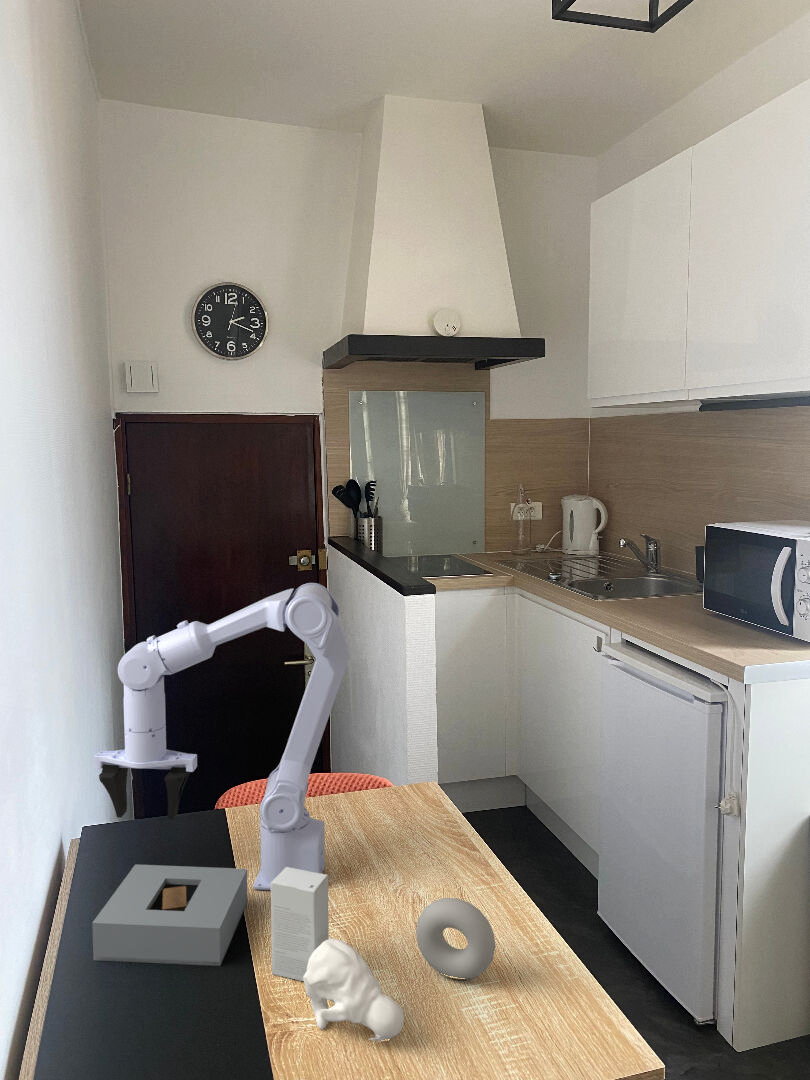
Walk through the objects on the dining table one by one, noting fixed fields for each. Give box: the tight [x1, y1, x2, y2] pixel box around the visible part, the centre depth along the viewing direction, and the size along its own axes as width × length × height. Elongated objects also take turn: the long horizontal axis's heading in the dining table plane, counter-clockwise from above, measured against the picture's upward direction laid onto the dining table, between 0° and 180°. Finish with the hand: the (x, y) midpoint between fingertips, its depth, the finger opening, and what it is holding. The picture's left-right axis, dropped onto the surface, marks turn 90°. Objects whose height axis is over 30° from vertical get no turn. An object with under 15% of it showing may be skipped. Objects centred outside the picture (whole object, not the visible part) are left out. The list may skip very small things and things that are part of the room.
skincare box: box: [270, 867, 330, 982], centre depth 99 cm, size 6×4×12 cm
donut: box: [415, 897, 497, 980], centre depth 98 cm, size 10×4×10 cm, turn 69°
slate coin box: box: [91, 864, 248, 967], centre depth 107 cm, size 16×14×5 cm
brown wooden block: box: [162, 886, 186, 911], centre depth 107 cm, size 3×5×4 cm, turn 16°
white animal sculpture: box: [303, 937, 405, 1042], centre depth 89 cm, size 6×8×12 cm
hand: (147, 815), depth 118 cm, fingers open, 7 cm apart
